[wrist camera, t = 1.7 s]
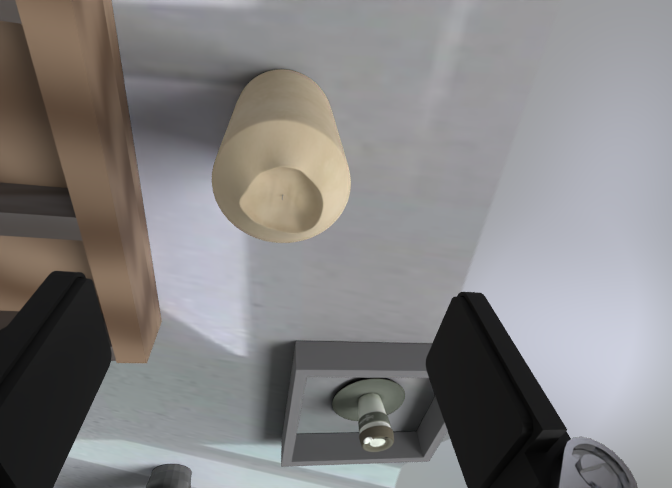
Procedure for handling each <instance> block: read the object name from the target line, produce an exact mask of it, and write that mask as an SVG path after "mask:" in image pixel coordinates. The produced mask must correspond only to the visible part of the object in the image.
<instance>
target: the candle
mask: <svg viewBox="0 0 672 488" xmlns="http://www.w3.org/2000/svg"><path fill="white" fill-rule="evenodd" d="M350 186H351V180H350V172H349V167H348V164H347V161H346V157H345V154H344V150H343V147H342V144H341V140H340V137H339V134H338V130H337V127H336V123H335V120H334V117H333V113H332V110H331V107H330V104H329V102H328V100H327V98H326V96H325V94H324V92H323V91H322V89H321V88H320V87H319V86H318V85H317V84H316V83H315V82H314V81H313V80H311V79H310V78H308V77H307V76H305V75H303V74H301V73H299V72H296V71H292V70H285V69H278V70H271V71H267V72H265V73H262V74H260V75H259V76H257V77H255V78H254V79H253V80H251V81H250V82H249V83H248V84H247V85H246V86H245V88H244V89H243V91H242V92H241V94H240V96H239V98H238V101H237V103H236V106H235V108H234V111H233V114H232V116H231V119H230V122H229V124H228V127H227V130H226V132H225V135H224V138H223V140H222V143H221V146H220V148H219V151H218V154H217V156H216V159H215V162H214V166H213V171H212V187H213V193H214V196H215V199H216V201H217V204H218V206H219V208H220V209H221V211H222V212H223V214H224V215H225V216H226V217H227V219H228V220H229V221H230V222H231V223H232V224H233V225H234V226H236V227H237V228H239V229H240V230H241V231H243V232H245V233H246V234H248V235H250V236H253V237H255V238H258V239H261V240H264V241H269V242H276V243H291V242H298V241H302V240H306V239H309V238H312V237H314V236H316V235H318V234H320V233H321V232H323V231H325V230H326V229H327V228H329V227H330V226H331V225H332V224H333V223H334V222H335V221H336V220H337V219H338V217H339V216H340V215H341V213H342V212H343V210H344V208H345V206H346V204H347V201H348V198H349V194H350Z"/></svg>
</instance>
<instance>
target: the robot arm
mask: <svg viewBox="0 0 672 488" xmlns="http://www.w3.org/2000/svg"><path fill="white" fill-rule="evenodd" d="M111 357H112V352H111V348H110V344H109V340H108V336H107V333H106V329H105V325H104V321H103V317H102V314H101V310H100V306H99V302H98V298H97V295H96V291H95V287H94V283H93V281H92V280H91V279H88V278H86V277H85V275H84V274H83V273H82V272H69V271H53V272H51V273H50V274H49V275H48V277H47V278H46V279H45V280H44V281H43V283H42V284H41V285H40V286H39V288H38V289H37V290H36V291H35V293H34V294H33V295H32V296H31V297H30V299H29V300H28V301H27V302H26V304H25V305H24V306H23V307H22V309H21V310H20V311H19V312H18V313H17V315H16V316H15V317H14V318H13V320H12V321H11V322H10V323H9V324H8V326H6V327H4V328H2V329H1V330H0V488H53V486H54V484H55V482H56V480H57V478H58V476H59V473H60V471H61V469H62V467H63V465H64V463H65V460H66V458H67V456H68V454H69V452H70V450H71V448H72V445H73V443H74V441H75V439H76V437H77V435H78V433H79V430H80V428H81V426H82V424H83V422H84V420H85V417H86V415H87V413H88V411H89V409H90V407H91V405H92V402H93V400H94V398H95V396H96V394H97V392H98V390H99V387H100V385H101V383H102V381H103V379H104V377H105V374H106V372H107V370H108V368H109V366H110V362H111ZM426 370H427V373H428V376H429V379H430V382H431V385H432V388H433V391H434V393H435V396H436V399H437V402H438V405H439V408H440V411H441V413H442V416H443V419H444V422H445V425H446V428H447V431H448V433H449V436H450V439H451V442H452V445H453V448H454V450H455V453H456V456H457V459H458V462H459V465H460V467H461V470H462V473H463V476H464V479H465V482H466V485H467V487H468V488H638V487H637V483H636V480H635V478H634V477H633V475H632V473H631V471H630V470H629V468H628V467H627V466H626V464H625V463H624V462H623V461H622V459H620V458H619V457H618V456H617V455H616V454H615V453H614V452H613V451H612V450H610V449H609V448H607V447H606V446H605V445H603V444H602V443H599V442H597V441H595V440H593V439H590V438H585V437H575V438H572V439H571V438H570V437H569V435H568V433H567V432H566V430H567V429H566V427H565V425H564V424H563V422H562V420H561V419H560V417H559V416H558V414H557V412H556V411H555V409H554V407H553V406H552V404H551V403H550V401H549V399H548V398H547V396H546V395H545V393H544V391H543V390H542V388H541V386H540V385H539V383H538V382H537V380H536V379H535V377H534V375H533V373H532V372H531V370H530V369H529V367H528V365H527V364H526V362H525V361H524V359H523V357H522V356H521V354H520V352H519V351H518V349H517V348H516V346H515V344H514V343H513V341H512V340H511V338H510V336H509V335H508V333H507V331H506V330H505V328H504V327H503V325H502V323H501V322H500V320H499V318H498V317H497V315H496V314H495V312H494V310H493V309H492V307H491V305H490V304H489V302H488V301H487V299H486V297H485V296H484V295H483V294H482V293H475V292H460V293H459V294H458V296H457V297H453V298H452V300H451V302H450V305H449V307H448V309H447V311H446V314H445V316H444V318H443V321H442V323H441V325H440V327H439V330H438V332H437V334H436V337H435V339H434V341H433V344H432V346H431V348H430V350H429V353H428V355H427V357H426Z"/></svg>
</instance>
